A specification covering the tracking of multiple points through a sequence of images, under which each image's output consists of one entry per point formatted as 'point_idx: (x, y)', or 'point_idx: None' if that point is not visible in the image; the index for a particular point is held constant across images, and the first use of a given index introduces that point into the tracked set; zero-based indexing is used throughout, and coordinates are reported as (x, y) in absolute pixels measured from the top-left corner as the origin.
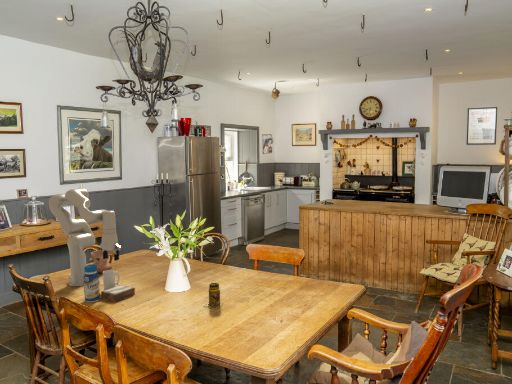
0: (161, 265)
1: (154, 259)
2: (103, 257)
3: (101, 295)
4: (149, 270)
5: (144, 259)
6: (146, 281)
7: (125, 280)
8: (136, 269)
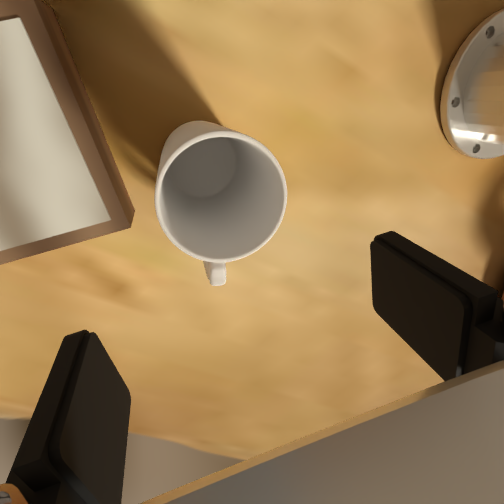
0: None
1: None
2: (395, 243)
3: (41, 3)
4: None
5: None
6: (208, 383)
7: (313, 313)
8: None
